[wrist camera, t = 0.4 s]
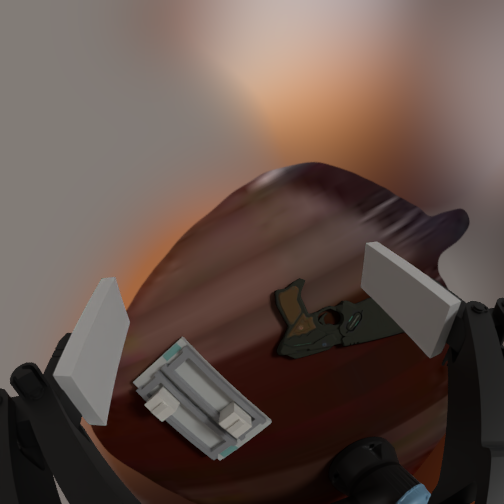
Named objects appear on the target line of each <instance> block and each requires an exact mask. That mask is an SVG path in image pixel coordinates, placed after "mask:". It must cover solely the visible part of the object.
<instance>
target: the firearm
mask: <svg viewBox="0 0 504 504" xmlns="http://www.w3.org/2000/svg"><path fill="white" fill-rule="evenodd" d="M304 282H305V280H303V279H300V278H299V279H298V280H296V281H294V282H292V283H291V284H290V285H289V286H288V287H287V288H285V289H280V290H276V291H275V300H276V306H277V308H278V310H279V312H280V313H281V315H282V317H283V319H284V320H285V322H286V324H287V326H288V327H287V330H286V332H285V335H284V337H283V339H282V340H281V342H280V344H279V346H278V348H277V353H278V354H279V355H288V356H290V357H293V358H295V359H296V358H300V357H304V356H308V355H312V354H315V353H319V352H322V351H325V350H328V349H330V348H331V347H332V346H333V345H336V344H341V343H342V345H343V346H348V345H353V344H357V343H362V342H367V341H371V340H375V339H380V338H384V337H388V336H391V335H395V334H398V333H402V332H405V331H404V330H403V329H402V328H401V327H400V326H399V325H398V324H397V323H396V322H395V321H394V320H393V319H392V318H391V317H390V316H389V315H388V314H387V313H386V312H385V311H384V310H383V309H382V308H381V307H380V306H379V305H378V304H377V303H376V302H375V301H374V300H373V299H372V298H371V297H370V298H368V299H365V300H363V301H361V302H358V303H356V304H353V303H351V302H349V301H341V303H340V304H339V305H337V306H335V307H333V306H328V307H325V308H322V309H321V310H319V311H318V312H314V313H312V314H309V313H308V312H307V310H306V307H305V305H304V303H303V301H302V299H301V290H302V287H303V285H304ZM327 309H332V310H335V311H337V312H339V314H340V317H341V319H340V321H339V323H338V324H336V325H332V324H325V323H324V316H325V315H326V314H327V313H325V314H323V315H322V316H321V317H320V319H319V320H318V315H319V314H320V313H321V312H323V311H325V310H327ZM319 322H321V323H322V324H320V323H319Z"/></svg>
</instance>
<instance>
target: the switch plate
mask: <svg viewBox="0 0 504 504" xmlns="http://www.w3.org/2000/svg"><path fill="white" fill-rule="evenodd" d="M133 383H134V384H135V385H136V386H137V387H138V389H137V390H136V392H137V393H138V394H139V395H140V396H141V397H142V398H143V399H144V400H145V401H146V402H147V401H148V400H149V399H150V397H151V396H152V395H153V394H154V393H155V392H157V391H158V390H159V389H160V388H161V387H162V386H165V387H166V388H167V389H168V390H169V391H170V392H171V393H172V394H173V395H174V396H175V397H176V398H177V399H178V400H179V401H180V404H179V406H178V408H177V410H176V412H174V413H173V414H172V415H170V416H169V417H168V418H167V419H165V420H166V421H167V422H168V423H169V424H170V425H171V426H172V427H174V428H175V429H176V430H177V431H178V432H179V433H180V434H182V435H183V436H184V437H185V438H186V439H188V440H189V441H190V442H191V443H192V444H194V445H195V446H196V447H197V448H199V449H200V450H201V451H202V452H204V453H205V454H206V455H208V456H209V457H210V458H212V459H213V460H215V459H216V458H218V459H219V460H222V459H223V458H225V457H226V456H228V455H229V454H230V453H232V452H233V451H235V450H236V449H238V448H239V447H240V446H242V445H243V444H244V443H246V442H247V441H249V440H250V439H251V438H253V437H254V436H255V435H256V434H258V433H259V432H260V431H262V430H263V429H264V428H265V427H267V426H268V425H269V424H270V423H272V422H271V419H270V418H269V417H267V416H266V415H265V414H264V413H263V412H262V411H260V410H259V409H258V408H257V407H256V406H255V405H253V404H252V403H251V402H250V401H249V400H248V399H247V398H245V397H244V396H243V395H242V394H241V393H240V392H239V391H238V390H237V389H235V388H234V387H233V386H232V385H231V384H230V383H229V382H228V381H227V380H226V379H225V378H224V377H223V376H222V375H220V374H219V373H218V372H217V371H216V370H215V369H214V368H213V367H212V366H211V365H210V364H209V363H208V362H207V361H206V360H205V359H204V358H203V357H202V356H201V355H200V354H199V353H198V352H197V351H196V350H195V349H194V348H193V347H192V346H191V345H190V343H189V342H188V341H187V340H186V339H185V338H184V337H182V338H181V339H179V340H178V341H177V342H176V343H175V344H174V345H173V346H172V347H171V348H170V349H169V350H168V351H166V352H165V353H164V354H163V355H162V356H161V357H160V358H159V359H158V360H157V361H156V362H154V363H153V364H152V365H151V366H150V367H149V368H148V369H147V370H146V371H145V372H143V373H142V374H141V375H140V376H139V377H138V378H137V379H136V380H135V381H134V382H133ZM233 401H235V402H236V403H237V404H238V405H239V406H241V407H242V408H243V409H244V410H245V411H246V412H248V413H249V414H250V415H251V422H252V427H251V428H250V429H249V430H247V431H246V432H245V433H243V434H242V435H241V436H239V437H238V438H235V437H234V436H233V435H232V434H230V433H229V432H228V431H227V430H225V429H224V428H223V427H222V426H221V425H219V417H220V411H222V410H223V409H224V408H225V407H227V406H228V405H229V404H230V403H231V402H233Z"/></svg>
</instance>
